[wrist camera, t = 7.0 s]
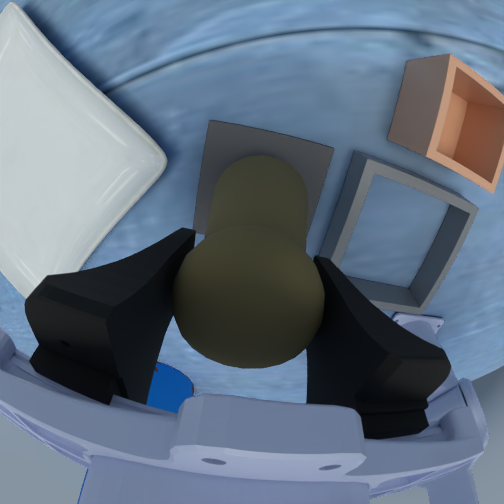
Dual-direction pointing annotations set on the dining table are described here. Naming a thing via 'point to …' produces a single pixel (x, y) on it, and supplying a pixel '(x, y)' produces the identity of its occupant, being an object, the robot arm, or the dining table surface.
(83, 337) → the robot arm
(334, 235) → the grey rectangular frame
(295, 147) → the dark grey rubber mat
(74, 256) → the square plate
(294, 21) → the dining table surface
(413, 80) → the terracotta pot
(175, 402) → the thermos
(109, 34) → the dining table surface
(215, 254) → the cork
